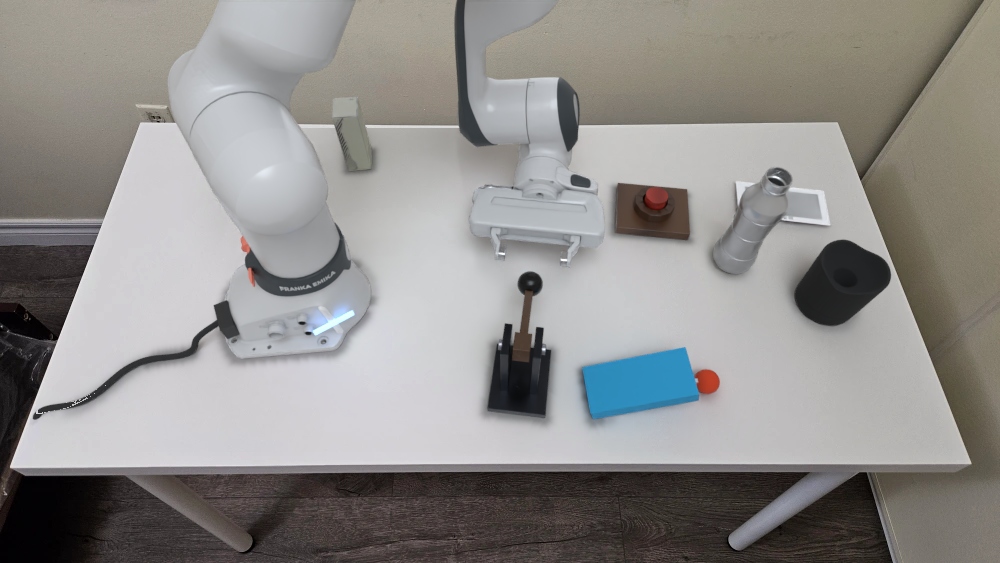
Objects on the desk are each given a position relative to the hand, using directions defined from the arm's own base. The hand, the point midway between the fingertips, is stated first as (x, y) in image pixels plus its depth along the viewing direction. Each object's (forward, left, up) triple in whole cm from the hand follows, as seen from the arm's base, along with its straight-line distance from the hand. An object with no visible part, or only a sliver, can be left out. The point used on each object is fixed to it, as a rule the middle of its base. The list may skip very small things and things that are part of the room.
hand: (532, 261), depth 83 cm
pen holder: (+43, -14, -9) cm, 46 cm away
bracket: (-6, -13, -9) cm, 17 cm away
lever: (-4, -9, -1) cm, 9 cm away
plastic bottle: (+33, -3, -9) cm, 35 cm away
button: (+25, +10, -6) cm, 27 cm away
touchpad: (+47, +5, -9) cm, 48 cm away
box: (-21, +37, -9) cm, 43 cm away
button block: (+25, +10, -9) cm, 28 cm away
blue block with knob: (+11, -20, -9) cm, 25 cm away
